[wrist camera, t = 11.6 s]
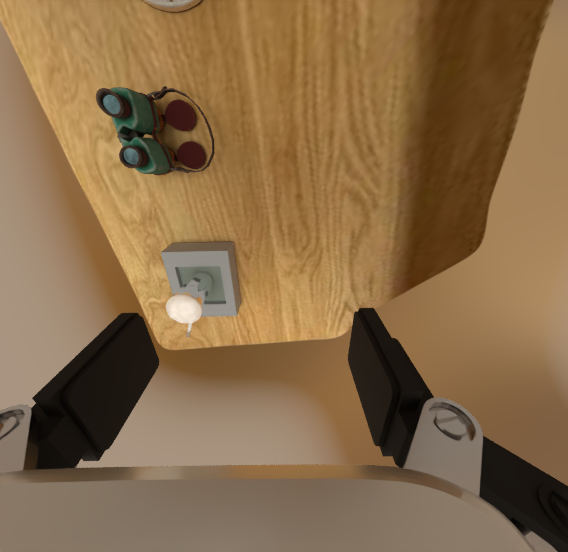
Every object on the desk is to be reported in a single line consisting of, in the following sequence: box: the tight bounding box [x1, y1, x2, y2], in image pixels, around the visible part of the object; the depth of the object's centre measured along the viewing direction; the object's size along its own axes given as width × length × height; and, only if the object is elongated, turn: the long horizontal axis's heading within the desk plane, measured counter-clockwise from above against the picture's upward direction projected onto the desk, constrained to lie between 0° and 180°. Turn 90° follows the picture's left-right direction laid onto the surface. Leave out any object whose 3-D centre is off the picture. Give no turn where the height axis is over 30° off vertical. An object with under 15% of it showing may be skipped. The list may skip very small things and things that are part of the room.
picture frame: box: [161, 242, 241, 317], centre depth 39 cm, size 12×10×4 cm
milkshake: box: [166, 272, 213, 337], centre depth 33 cm, size 4×5×10 cm
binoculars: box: [96, 86, 214, 175], centre depth 27 cm, size 9×11×10 cm
